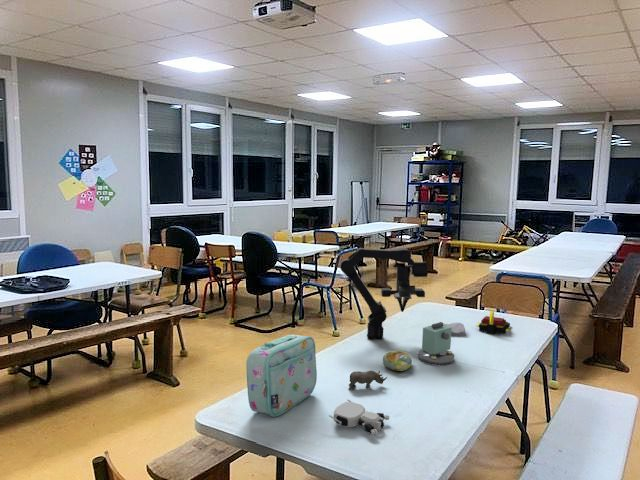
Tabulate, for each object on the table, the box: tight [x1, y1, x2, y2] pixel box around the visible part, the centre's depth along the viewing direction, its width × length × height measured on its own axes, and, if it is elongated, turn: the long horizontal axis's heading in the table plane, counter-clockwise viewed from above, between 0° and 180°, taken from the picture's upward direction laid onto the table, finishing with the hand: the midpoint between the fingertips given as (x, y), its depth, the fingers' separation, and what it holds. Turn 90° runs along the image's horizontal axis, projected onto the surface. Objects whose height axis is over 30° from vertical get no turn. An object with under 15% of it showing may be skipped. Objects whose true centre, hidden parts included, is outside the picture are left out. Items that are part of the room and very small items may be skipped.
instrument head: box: [421, 321, 452, 354], centre depth 198 cm, size 8×10×11 cm
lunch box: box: [245, 333, 318, 418], centre depth 158 cm, size 27×10×21 cm, turn 148°
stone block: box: [442, 322, 467, 337], centre depth 234 cm, size 12×5×10 cm
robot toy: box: [328, 399, 390, 435], centre depth 146 cm, size 12×4×15 cm
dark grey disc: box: [417, 348, 455, 366], centre depth 200 cm, size 14×14×3 cm
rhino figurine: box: [348, 369, 388, 391], centre depth 173 cm, size 4×14×6 cm, turn 101°
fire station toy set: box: [475, 310, 511, 335], centre depth 240 cm, size 14×20×11 cm
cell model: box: [382, 350, 413, 372], centre depth 192 cm, size 11×8×15 cm
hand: (402, 311), depth 225 cm, fingers closed
